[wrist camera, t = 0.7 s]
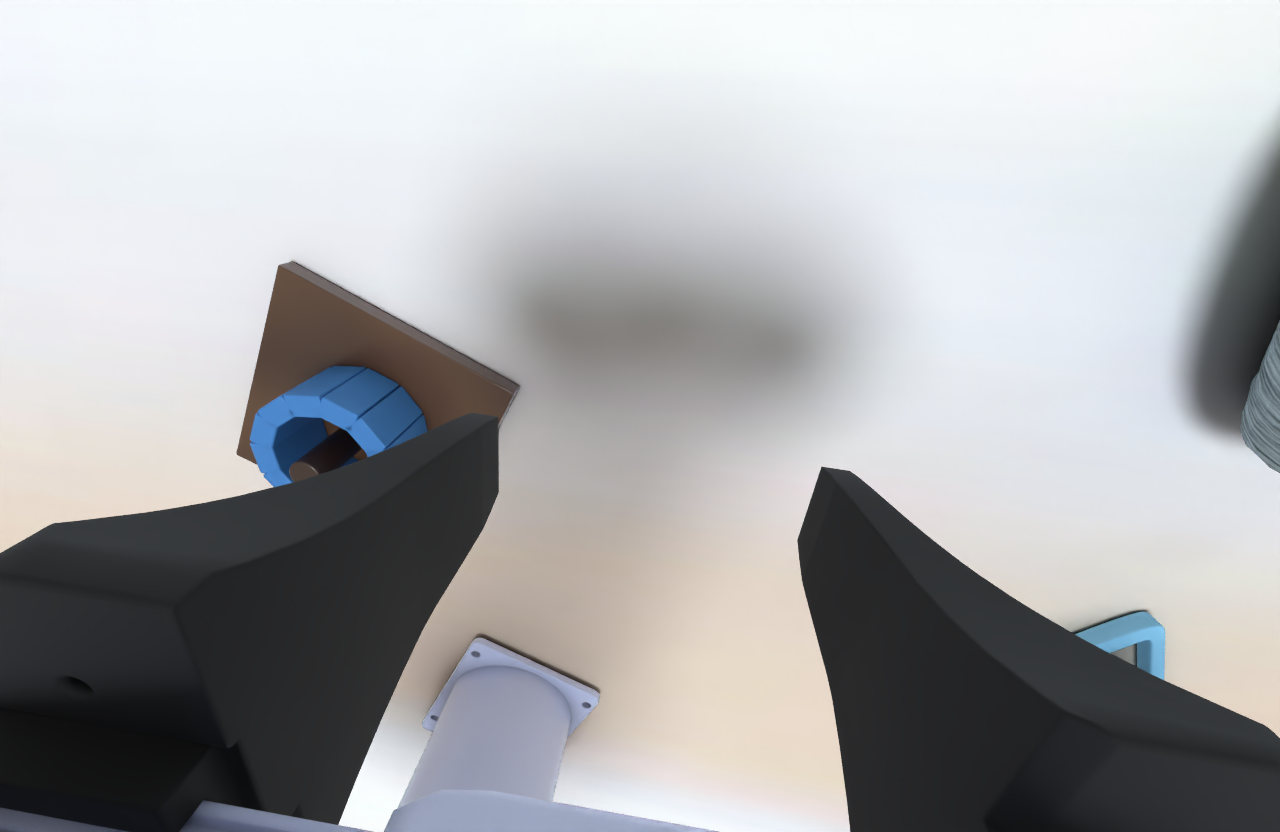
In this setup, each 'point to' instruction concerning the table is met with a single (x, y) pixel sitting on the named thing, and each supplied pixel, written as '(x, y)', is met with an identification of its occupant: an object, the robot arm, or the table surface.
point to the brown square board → (359, 363)
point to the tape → (333, 418)
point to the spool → (1265, 408)
